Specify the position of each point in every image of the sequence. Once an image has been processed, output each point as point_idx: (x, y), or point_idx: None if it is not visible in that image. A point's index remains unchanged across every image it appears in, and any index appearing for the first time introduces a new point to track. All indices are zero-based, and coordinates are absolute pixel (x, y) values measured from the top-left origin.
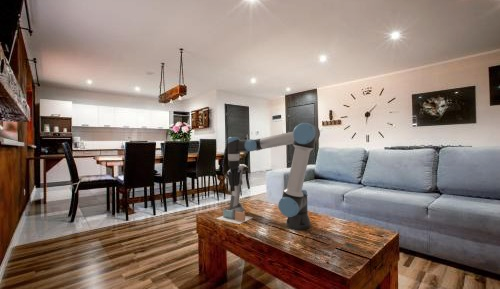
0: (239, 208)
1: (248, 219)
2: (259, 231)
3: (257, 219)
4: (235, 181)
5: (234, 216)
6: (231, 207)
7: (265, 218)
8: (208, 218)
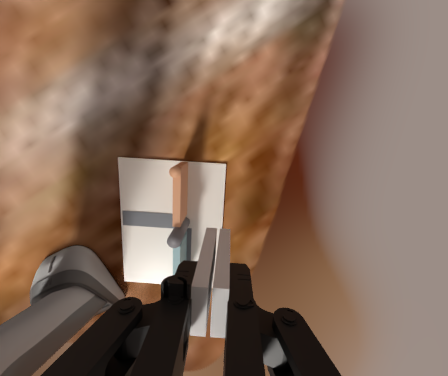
0: (81, 264)
1: (155, 160)
2: (260, 27)
3: (127, 125)
4: (178, 367)
5: (184, 222)
6: (99, 299)
7: (93, 97)
8: None
